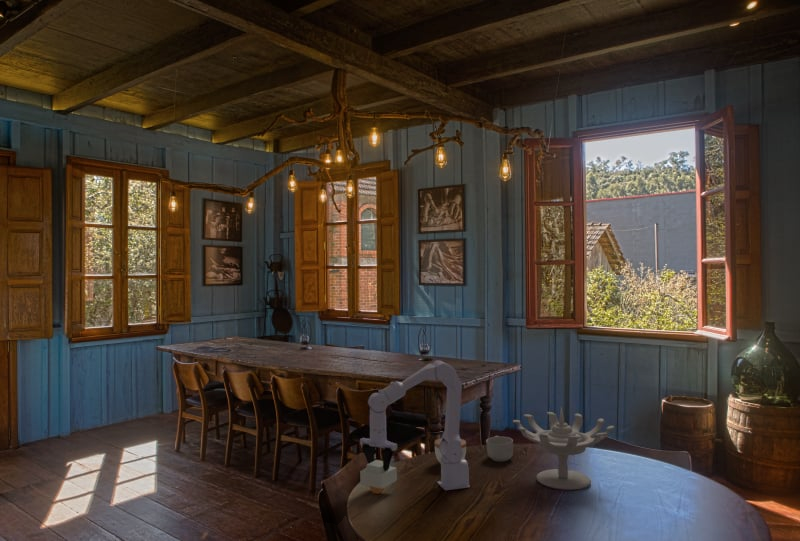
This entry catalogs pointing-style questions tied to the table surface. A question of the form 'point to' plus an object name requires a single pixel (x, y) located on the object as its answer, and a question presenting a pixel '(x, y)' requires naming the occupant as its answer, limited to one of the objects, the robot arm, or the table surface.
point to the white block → (378, 475)
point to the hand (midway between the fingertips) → (378, 468)
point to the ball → (376, 490)
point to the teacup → (500, 448)
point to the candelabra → (563, 448)
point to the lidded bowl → (439, 454)
